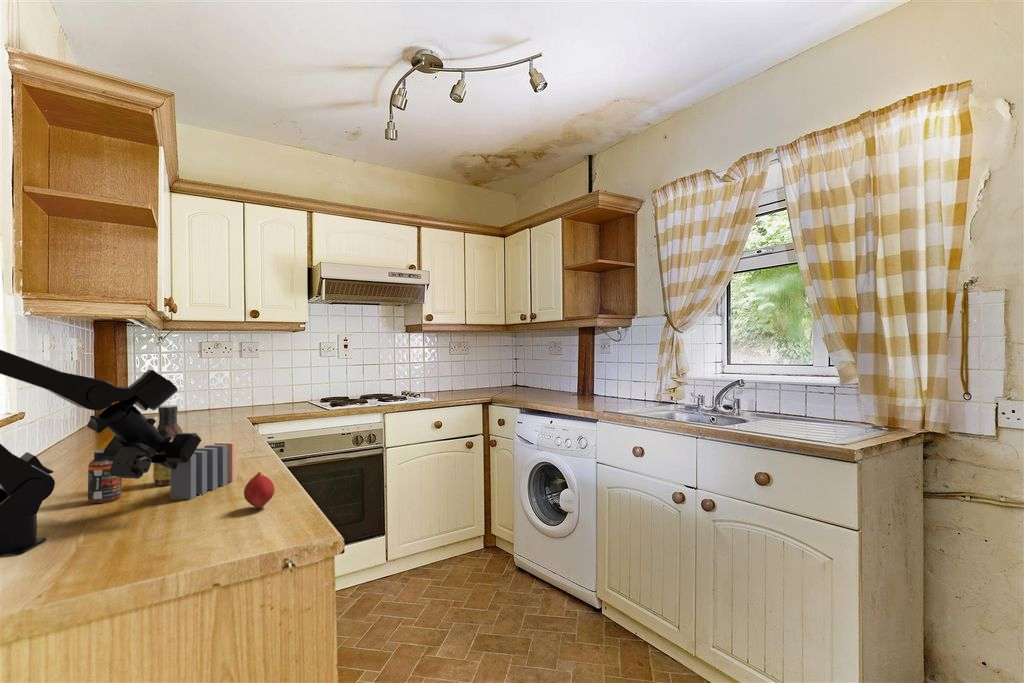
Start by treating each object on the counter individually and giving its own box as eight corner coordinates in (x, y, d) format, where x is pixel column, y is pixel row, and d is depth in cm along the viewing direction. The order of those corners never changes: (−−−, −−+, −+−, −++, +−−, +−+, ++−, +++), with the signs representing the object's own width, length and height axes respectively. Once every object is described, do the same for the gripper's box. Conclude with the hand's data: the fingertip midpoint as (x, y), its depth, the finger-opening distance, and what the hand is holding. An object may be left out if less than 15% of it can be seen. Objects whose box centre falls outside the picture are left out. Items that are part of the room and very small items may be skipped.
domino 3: (212, 490, 120) (212, 449, 120) (193, 490, 120) (193, 448, 120) (217, 488, 121) (217, 447, 121) (198, 488, 122) (198, 447, 122)
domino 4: (222, 486, 123) (222, 446, 123) (204, 486, 124) (204, 446, 124) (227, 484, 125) (227, 445, 125) (209, 484, 125) (209, 444, 125)
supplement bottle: (102, 505, 109) (102, 453, 109) (80, 503, 110) (80, 452, 110) (128, 496, 115) (128, 448, 115) (107, 495, 116) (107, 447, 116)
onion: (237, 510, 105) (237, 472, 105) (262, 502, 110) (262, 466, 110) (255, 514, 102) (255, 475, 102) (280, 506, 107) (280, 469, 107)
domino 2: (202, 495, 116) (202, 452, 116) (182, 494, 117) (182, 452, 117) (207, 493, 118) (207, 450, 118) (187, 492, 118) (187, 450, 118)
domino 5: (232, 482, 127) (232, 443, 127) (214, 482, 127) (214, 443, 127) (236, 480, 128) (236, 442, 128) (218, 480, 129) (218, 442, 129)
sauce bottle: (156, 481, 128) (156, 404, 128) (185, 478, 131) (184, 403, 131) (150, 488, 122) (150, 407, 122) (180, 485, 125) (180, 406, 125)
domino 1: (190, 499, 113) (190, 455, 113) (170, 499, 113) (170, 455, 113) (196, 497, 114) (196, 454, 114) (176, 496, 115) (176, 453, 115)
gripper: (61, 460, 96) (114, 499, 107) (149, 462, 93) (193, 502, 104) (100, 413, 103) (145, 454, 114) (181, 414, 101) (219, 456, 112)
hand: (174, 467), depth 111 cm, fingers closed
